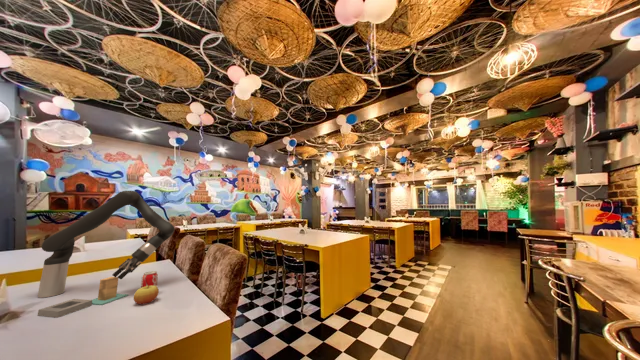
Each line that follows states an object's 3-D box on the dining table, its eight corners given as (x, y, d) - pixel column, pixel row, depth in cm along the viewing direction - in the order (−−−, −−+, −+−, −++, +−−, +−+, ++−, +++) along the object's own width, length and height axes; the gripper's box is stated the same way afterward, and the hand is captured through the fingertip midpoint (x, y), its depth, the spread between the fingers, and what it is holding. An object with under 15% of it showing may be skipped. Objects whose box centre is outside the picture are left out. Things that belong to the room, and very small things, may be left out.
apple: (152, 305, 102) (153, 288, 104) (128, 308, 100) (130, 290, 101) (161, 297, 112) (162, 281, 113) (139, 299, 109) (141, 283, 110)
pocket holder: (37, 315, 94) (38, 309, 94) (73, 304, 105) (73, 298, 106) (57, 317, 91) (58, 311, 92) (91, 305, 103) (92, 300, 104)
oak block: (97, 299, 108) (100, 279, 110) (108, 296, 113) (111, 276, 115) (104, 300, 107) (107, 280, 109) (116, 296, 112) (118, 277, 114)
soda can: (149, 297, 111) (151, 274, 113) (136, 298, 112) (138, 274, 113) (159, 292, 118) (161, 270, 120) (147, 292, 118) (149, 270, 120)
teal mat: (83, 303, 105) (83, 302, 105) (110, 294, 117) (110, 293, 117) (102, 305, 103) (102, 303, 103) (128, 295, 115) (128, 294, 115)
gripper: (134, 247, 127) (105, 271, 116) (144, 249, 120) (115, 275, 109) (144, 254, 131) (117, 279, 119) (154, 256, 124) (127, 283, 112)
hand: (116, 277), depth 114 cm, fingers open, 8 cm apart
